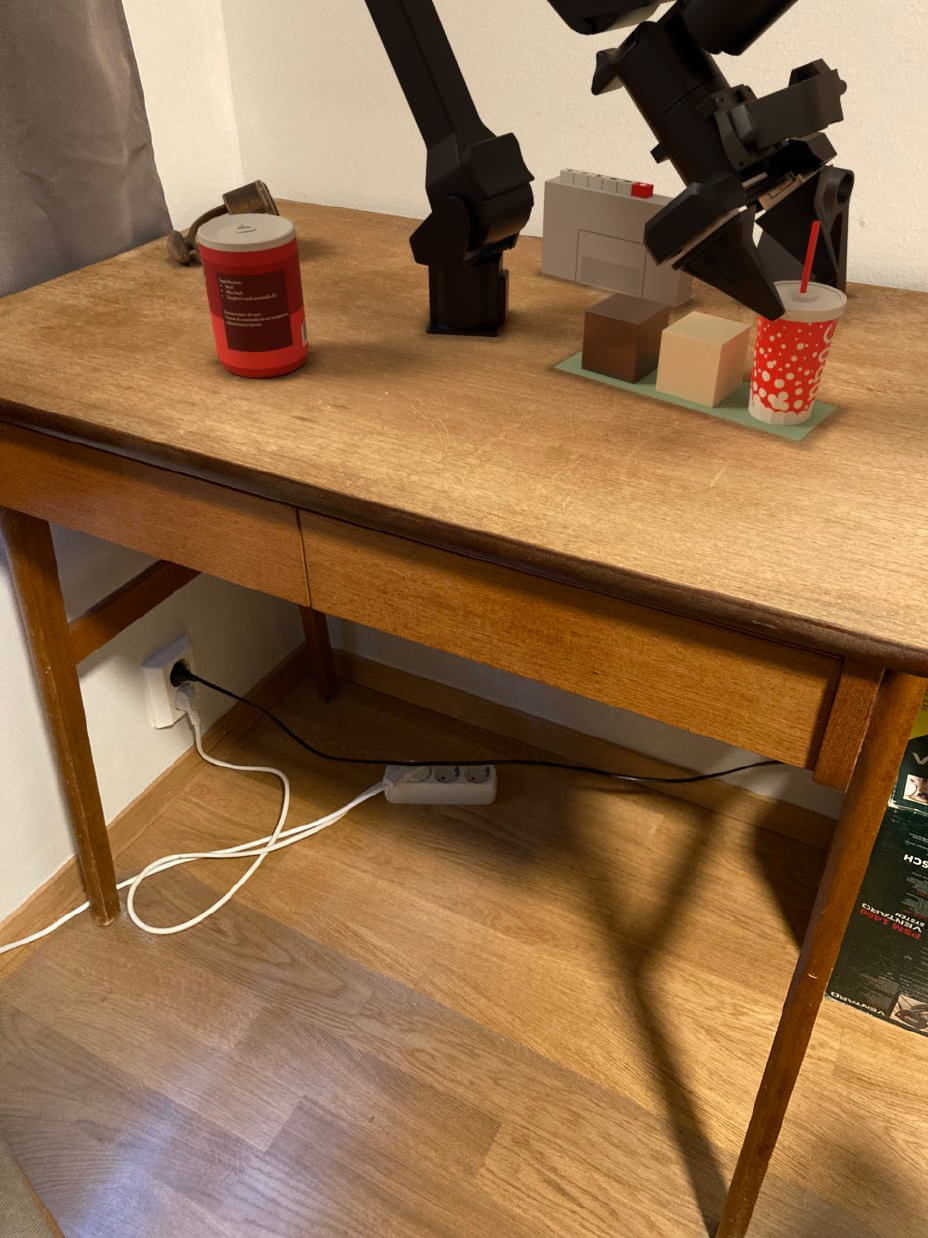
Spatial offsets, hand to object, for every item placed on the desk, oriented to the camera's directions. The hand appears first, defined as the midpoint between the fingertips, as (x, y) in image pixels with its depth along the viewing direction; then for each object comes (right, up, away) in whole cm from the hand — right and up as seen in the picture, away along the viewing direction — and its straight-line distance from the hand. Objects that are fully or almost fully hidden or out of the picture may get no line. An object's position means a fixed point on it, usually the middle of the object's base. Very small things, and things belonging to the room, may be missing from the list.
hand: (807, 297), depth 70 cm
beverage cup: (0, -7, +6) cm, 9 cm away
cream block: (-6, -4, +9) cm, 11 cm away
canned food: (-41, -1, +15) cm, 44 cm away
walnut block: (-11, -2, +12) cm, 17 cm away
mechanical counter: (-49, +17, +38) cm, 64 cm away
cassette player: (-10, +10, +28) cm, 31 cm away
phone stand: (+7, +8, +25) cm, 27 cm away
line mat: (-6, -4, +10) cm, 12 cm away
